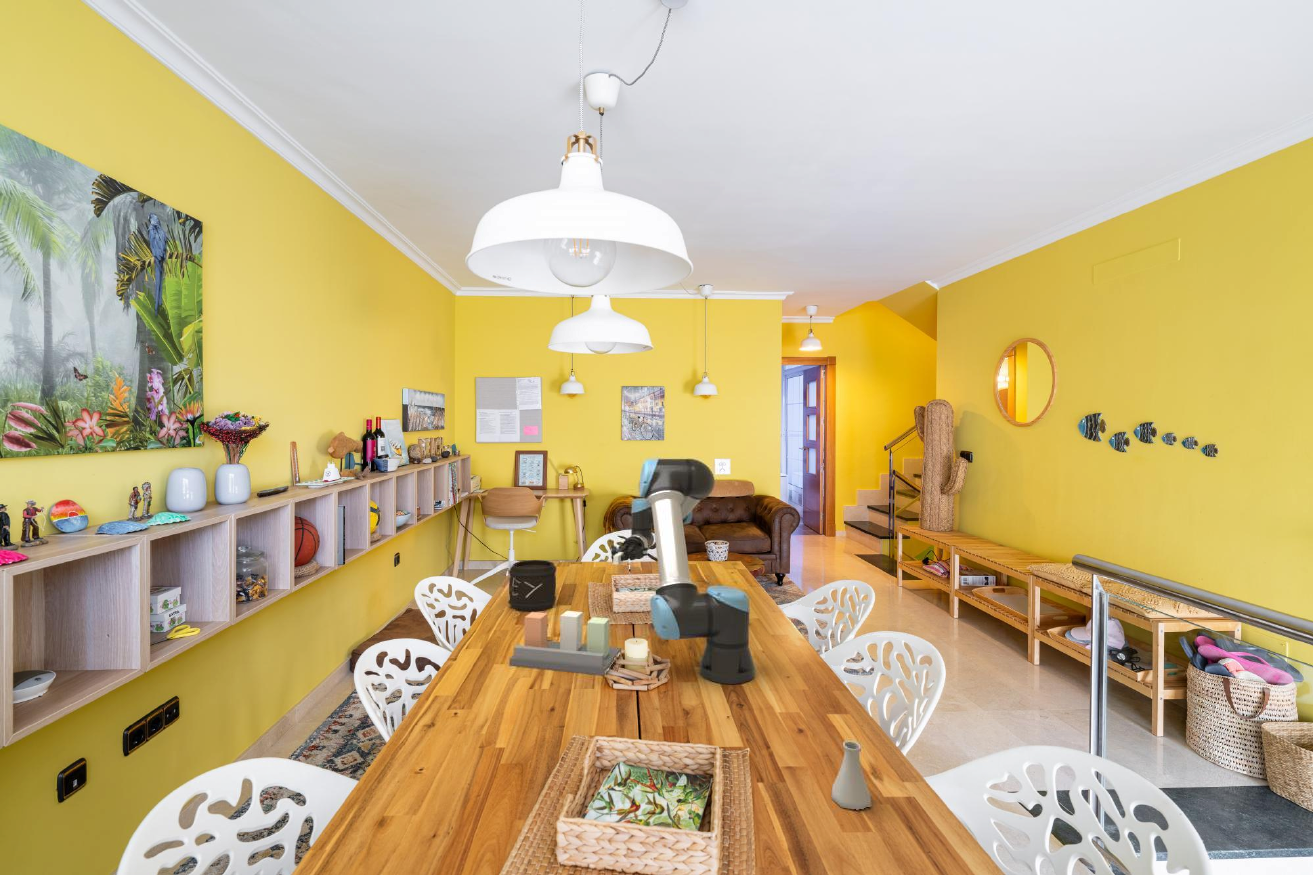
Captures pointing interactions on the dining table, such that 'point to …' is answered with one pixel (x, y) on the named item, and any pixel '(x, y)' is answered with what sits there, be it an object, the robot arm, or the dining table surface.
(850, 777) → the flask
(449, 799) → the dining table surface
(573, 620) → the grey key
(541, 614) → the salmon orange block
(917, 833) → the dining table surface
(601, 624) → the sage key
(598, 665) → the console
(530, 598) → the black lettered canister
